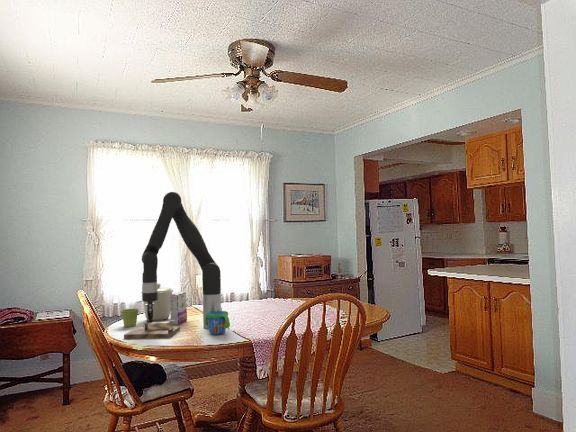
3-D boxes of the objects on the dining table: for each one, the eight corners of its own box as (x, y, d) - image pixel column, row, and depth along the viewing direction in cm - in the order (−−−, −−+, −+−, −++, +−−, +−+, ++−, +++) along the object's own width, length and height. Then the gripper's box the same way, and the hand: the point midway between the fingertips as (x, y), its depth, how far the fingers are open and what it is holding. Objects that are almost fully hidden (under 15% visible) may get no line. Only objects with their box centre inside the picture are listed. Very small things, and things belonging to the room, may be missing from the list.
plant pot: (120, 325, 236) (120, 309, 237) (138, 323, 240) (138, 308, 240) (120, 328, 228) (120, 311, 228) (139, 326, 231) (139, 310, 231)
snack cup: (199, 333, 209) (198, 312, 210) (217, 329, 217) (217, 309, 217) (217, 338, 198) (217, 315, 199) (236, 334, 205) (235, 312, 206)
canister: (148, 316, 261) (147, 282, 262) (177, 316, 260) (177, 281, 261) (136, 322, 243) (136, 285, 244) (168, 322, 242) (167, 284, 243)
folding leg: (175, 327, 216) (175, 320, 216) (174, 328, 213) (174, 321, 214) (145, 329, 214) (145, 321, 214) (144, 330, 211) (144, 323, 211)
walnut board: (180, 330, 217) (179, 323, 217) (170, 337, 201) (169, 330, 202) (137, 331, 218) (137, 324, 218) (123, 338, 202) (123, 331, 202)
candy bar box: (179, 320, 245) (178, 291, 245) (187, 321, 244) (186, 291, 244) (169, 324, 234) (169, 294, 234) (178, 324, 233) (177, 294, 233)
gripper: (158, 292, 212) (158, 327, 211) (157, 289, 224) (157, 322, 223) (142, 293, 209) (142, 329, 209) (142, 290, 222) (142, 324, 221)
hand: (150, 325), depth 216 cm, fingers closed
